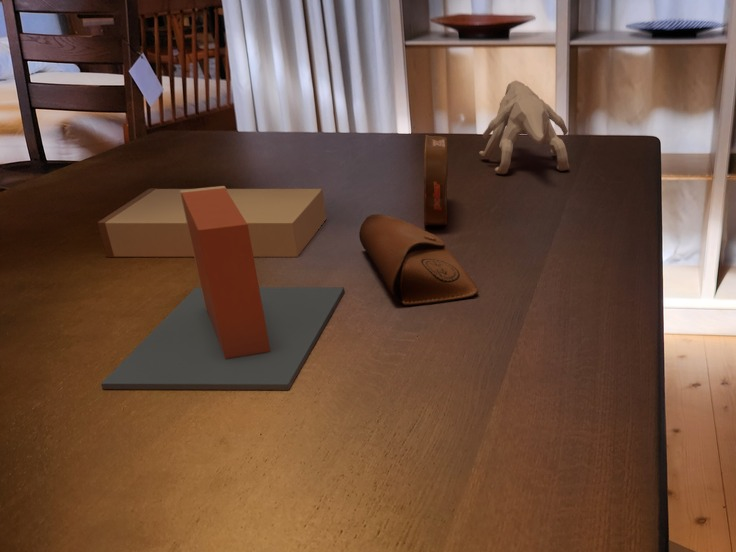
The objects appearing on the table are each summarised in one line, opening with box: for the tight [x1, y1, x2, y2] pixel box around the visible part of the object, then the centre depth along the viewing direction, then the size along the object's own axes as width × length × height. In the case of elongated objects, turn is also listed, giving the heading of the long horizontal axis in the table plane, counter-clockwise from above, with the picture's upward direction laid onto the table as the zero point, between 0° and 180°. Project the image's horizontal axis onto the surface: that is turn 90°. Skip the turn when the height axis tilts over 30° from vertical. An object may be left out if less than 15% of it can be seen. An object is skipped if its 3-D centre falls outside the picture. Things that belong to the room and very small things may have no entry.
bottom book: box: [97, 187, 327, 258], centre depth 97 cm, size 20×14×4 cm
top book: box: [180, 185, 270, 359], centre depth 71 cm, size 4×12×10 cm, turn 23°
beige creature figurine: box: [478, 80, 570, 175], centre depth 121 cm, size 12×25×10 cm, turn 11°
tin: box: [423, 134, 449, 227], centre depth 101 cm, size 15×3×8 cm, turn 4°
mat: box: [100, 286, 345, 391], centre depth 74 cm, size 14×21×1 cm, turn 178°
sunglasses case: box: [359, 213, 479, 306], centre depth 86 cm, size 18×7×7 cm
